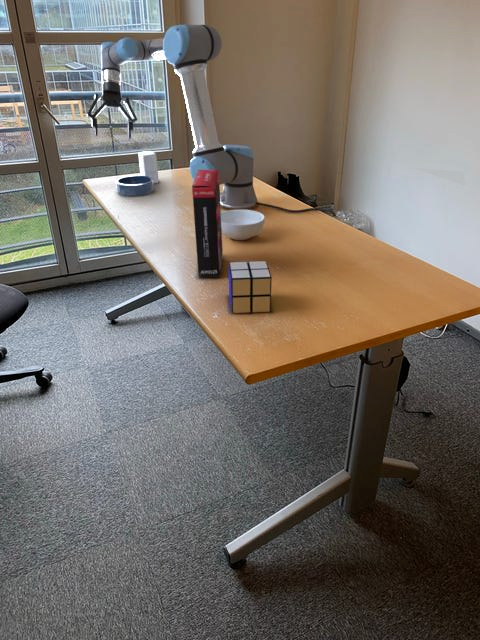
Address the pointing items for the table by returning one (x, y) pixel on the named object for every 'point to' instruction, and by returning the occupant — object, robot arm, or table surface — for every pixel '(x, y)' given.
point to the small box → (148, 165)
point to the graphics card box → (207, 222)
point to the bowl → (134, 185)
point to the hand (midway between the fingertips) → (113, 137)
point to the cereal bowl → (241, 223)
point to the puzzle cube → (249, 287)
